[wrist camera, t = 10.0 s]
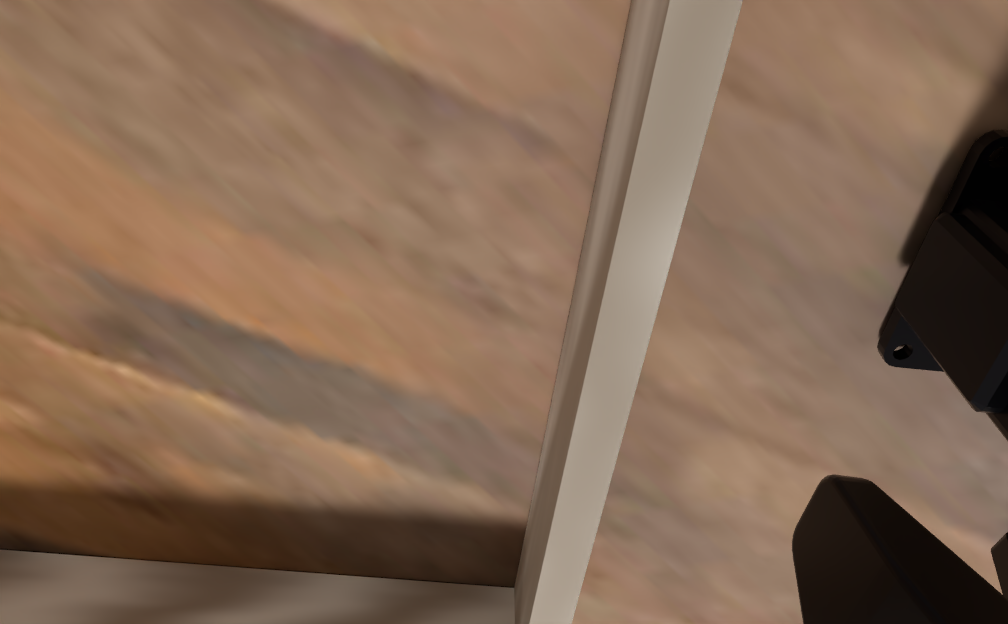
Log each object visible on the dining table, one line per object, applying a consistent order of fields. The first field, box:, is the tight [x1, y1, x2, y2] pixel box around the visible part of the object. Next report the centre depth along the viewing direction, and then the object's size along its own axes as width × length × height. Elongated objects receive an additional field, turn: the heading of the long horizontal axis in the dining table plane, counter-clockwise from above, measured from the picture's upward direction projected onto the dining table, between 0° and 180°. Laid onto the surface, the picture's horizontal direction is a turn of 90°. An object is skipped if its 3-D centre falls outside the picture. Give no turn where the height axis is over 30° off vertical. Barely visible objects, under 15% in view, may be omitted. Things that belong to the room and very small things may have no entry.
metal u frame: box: [0, 0, 743, 624], centre depth 19 cm, size 25×22×4 cm
